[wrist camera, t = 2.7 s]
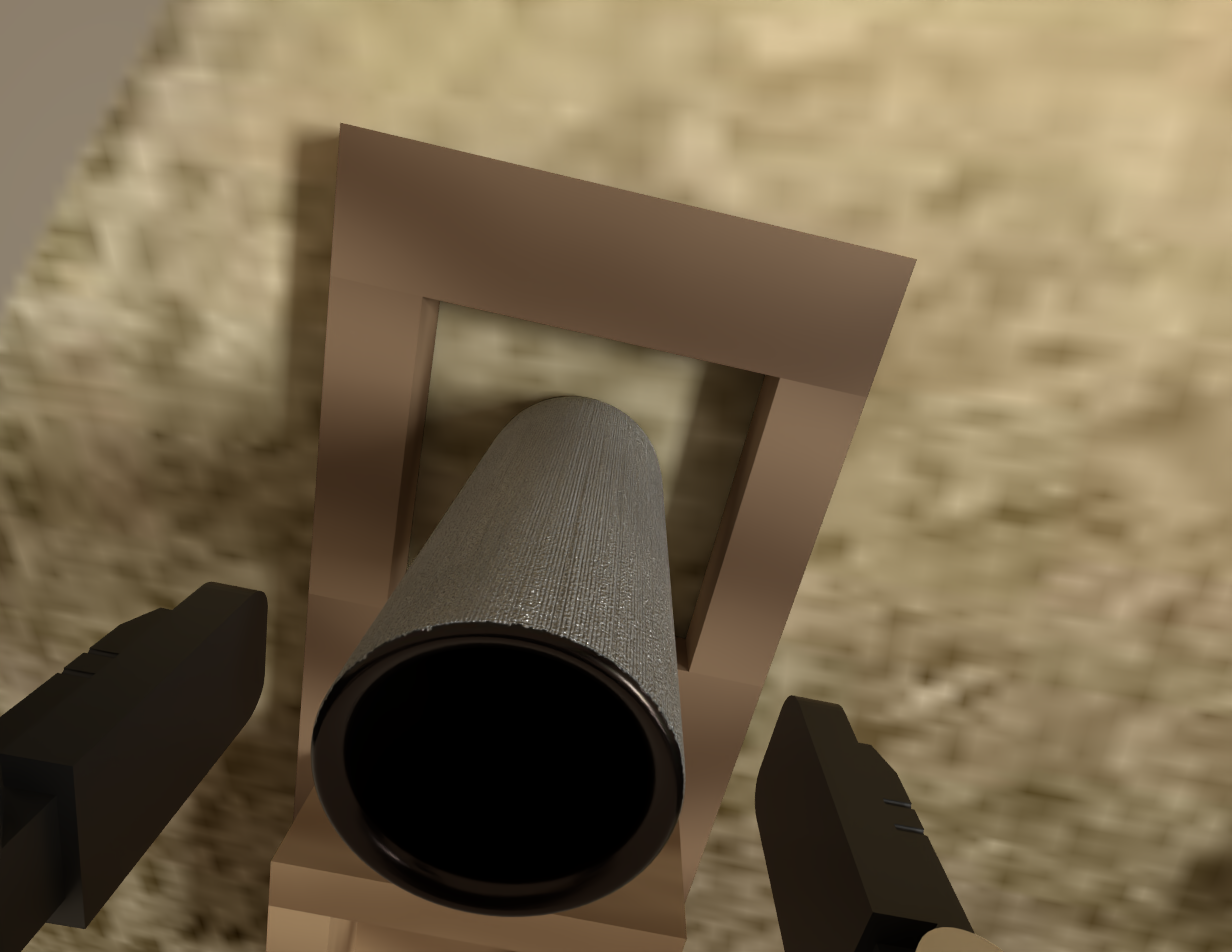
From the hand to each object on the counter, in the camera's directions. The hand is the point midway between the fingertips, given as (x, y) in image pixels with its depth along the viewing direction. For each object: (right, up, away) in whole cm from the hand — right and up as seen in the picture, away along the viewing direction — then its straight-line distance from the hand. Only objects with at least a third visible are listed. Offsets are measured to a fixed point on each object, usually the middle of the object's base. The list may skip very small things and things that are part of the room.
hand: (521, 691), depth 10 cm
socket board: (-1, -3, +10) cm, 10 cm away
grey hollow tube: (0, +3, +8) cm, 8 cm away
